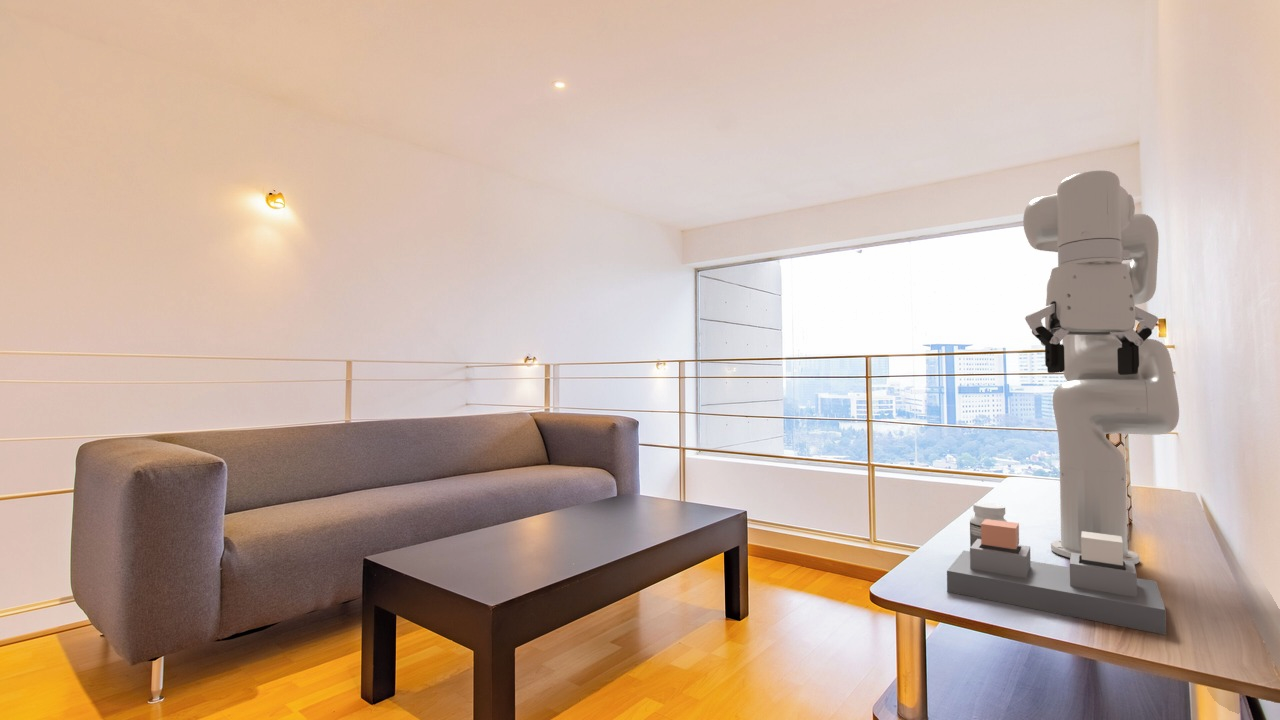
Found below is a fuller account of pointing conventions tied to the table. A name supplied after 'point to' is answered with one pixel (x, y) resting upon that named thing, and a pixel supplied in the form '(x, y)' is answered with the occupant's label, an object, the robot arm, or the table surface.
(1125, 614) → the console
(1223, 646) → the table surface
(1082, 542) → the pale key
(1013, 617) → the table surface
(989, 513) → the pill bottle
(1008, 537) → the terracotta key
